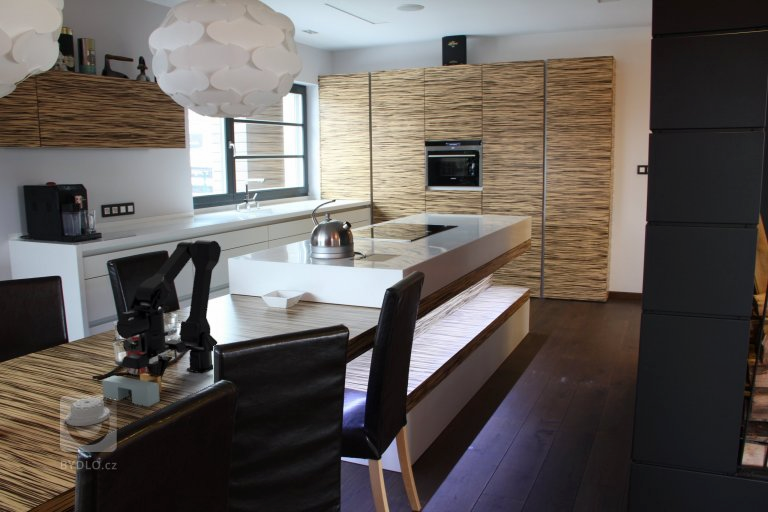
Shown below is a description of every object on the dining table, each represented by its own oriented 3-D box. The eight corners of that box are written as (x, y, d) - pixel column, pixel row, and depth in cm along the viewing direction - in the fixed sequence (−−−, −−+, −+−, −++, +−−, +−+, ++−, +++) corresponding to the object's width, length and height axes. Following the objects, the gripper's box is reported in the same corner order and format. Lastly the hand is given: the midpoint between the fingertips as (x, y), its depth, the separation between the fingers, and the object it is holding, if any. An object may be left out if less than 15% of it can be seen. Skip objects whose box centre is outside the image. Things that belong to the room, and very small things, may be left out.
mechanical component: (117, 417, 165) (97, 408, 171) (116, 400, 164) (96, 392, 171) (78, 430, 158) (58, 420, 164) (76, 413, 157) (57, 403, 163)
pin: (144, 388, 185) (143, 373, 184) (161, 391, 182) (160, 376, 182) (124, 397, 179) (122, 381, 178) (141, 400, 176) (140, 384, 175)
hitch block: (115, 392, 182) (113, 375, 181) (159, 401, 175) (158, 383, 174) (103, 397, 178) (102, 379, 178) (148, 406, 172) (147, 388, 171)
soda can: (126, 370, 201) (124, 332, 199) (151, 367, 204) (149, 329, 202) (127, 377, 195) (125, 338, 193) (153, 374, 197) (150, 335, 195)
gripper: (156, 318, 194) (159, 369, 197) (105, 334, 178) (109, 390, 180) (185, 322, 190) (188, 374, 192) (136, 339, 173) (140, 396, 176)
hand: (157, 383), depth 185 cm, fingers closed
